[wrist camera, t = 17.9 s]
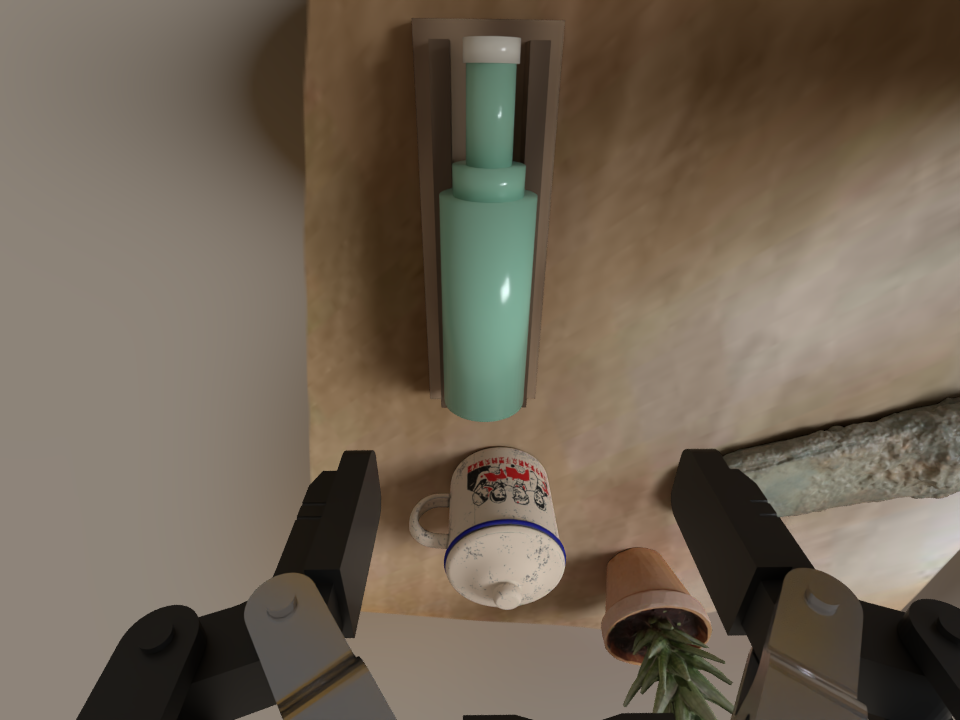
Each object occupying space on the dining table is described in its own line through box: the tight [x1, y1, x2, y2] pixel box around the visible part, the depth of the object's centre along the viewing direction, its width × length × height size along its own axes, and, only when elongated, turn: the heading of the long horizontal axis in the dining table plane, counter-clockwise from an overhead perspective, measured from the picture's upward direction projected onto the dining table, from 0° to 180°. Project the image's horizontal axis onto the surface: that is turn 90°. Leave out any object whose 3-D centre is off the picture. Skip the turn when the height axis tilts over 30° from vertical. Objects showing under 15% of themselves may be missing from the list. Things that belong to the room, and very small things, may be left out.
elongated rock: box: [722, 397, 960, 517], centre depth 42 cm, size 35×5×10 cm
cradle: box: [412, 18, 565, 408], centre depth 32 cm, size 8×24×4 cm, turn 0°
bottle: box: [439, 36, 537, 422], centre depth 28 cm, size 5×5×20 cm
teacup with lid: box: [409, 447, 566, 610], centre depth 39 cm, size 12×9×12 cm
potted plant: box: [601, 548, 734, 720], centre depth 40 cm, size 10×10×25 cm
